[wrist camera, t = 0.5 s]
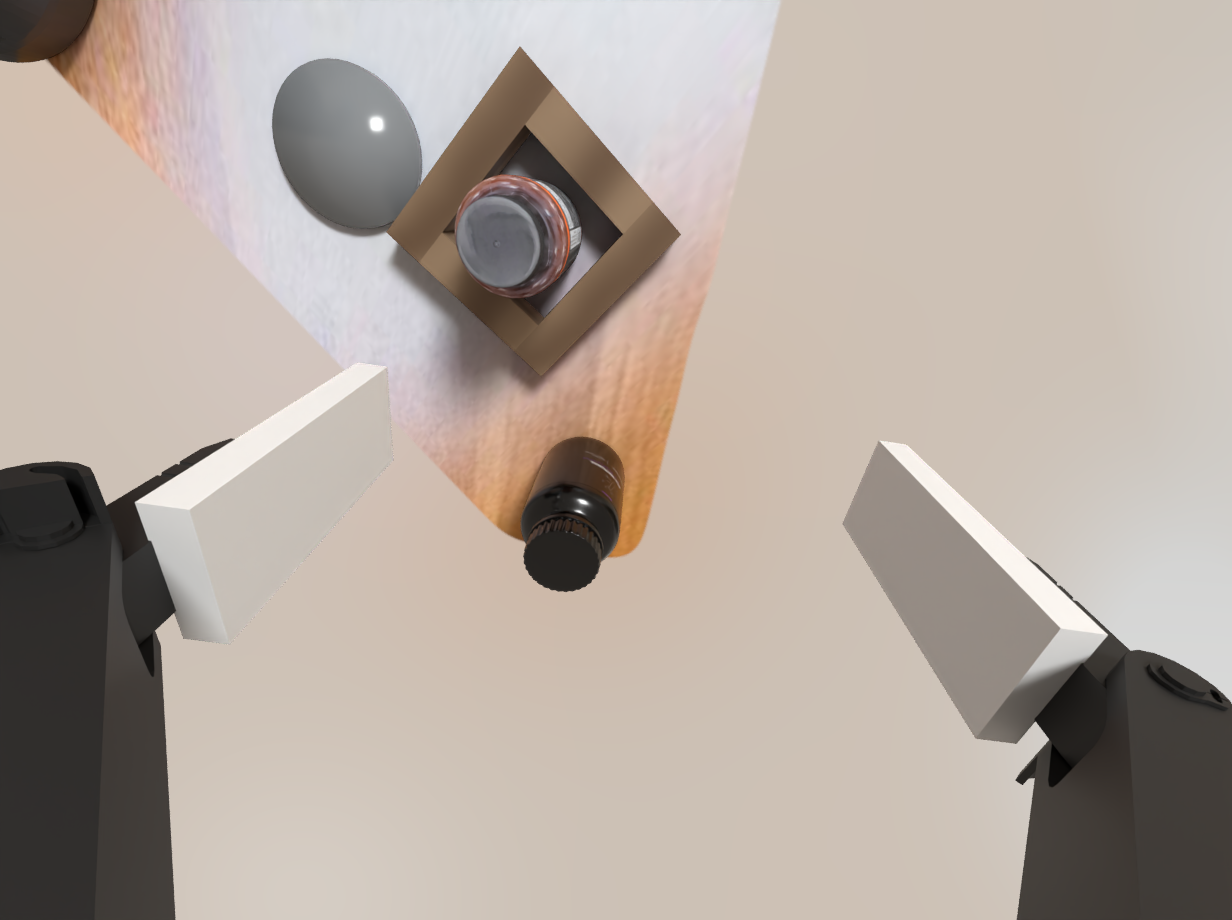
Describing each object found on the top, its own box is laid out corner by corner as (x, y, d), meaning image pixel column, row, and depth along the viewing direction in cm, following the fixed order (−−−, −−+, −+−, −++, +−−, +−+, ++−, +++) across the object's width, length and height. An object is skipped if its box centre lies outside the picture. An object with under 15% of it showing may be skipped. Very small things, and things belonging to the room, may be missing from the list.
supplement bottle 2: (631, 441, 41) (628, 528, 30) (617, 512, 44) (608, 614, 33) (546, 426, 40) (511, 508, 30) (537, 499, 43) (503, 596, 33)
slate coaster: (253, 149, 32) (246, 148, 32) (325, 20, 29) (319, 17, 29) (372, 258, 35) (368, 258, 35) (450, 150, 32) (447, 149, 31)
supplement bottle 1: (521, 292, 36) (473, 329, 26) (477, 205, 33) (406, 208, 23) (599, 255, 34) (580, 278, 24) (558, 162, 32) (520, 145, 22)
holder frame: (403, 230, 34) (386, 232, 32) (529, 57, 30) (519, 46, 27) (547, 366, 38) (541, 376, 36) (678, 232, 33) (681, 234, 31)
